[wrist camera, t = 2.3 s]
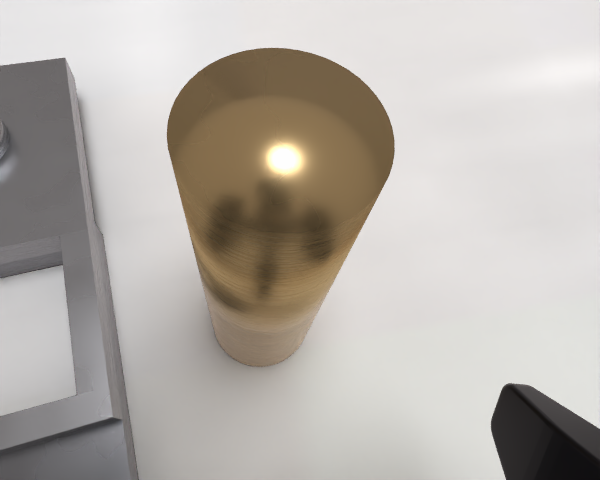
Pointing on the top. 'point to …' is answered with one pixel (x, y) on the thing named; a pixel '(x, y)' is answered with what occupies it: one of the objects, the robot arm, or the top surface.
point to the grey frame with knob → (78, 280)
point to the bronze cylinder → (275, 188)
